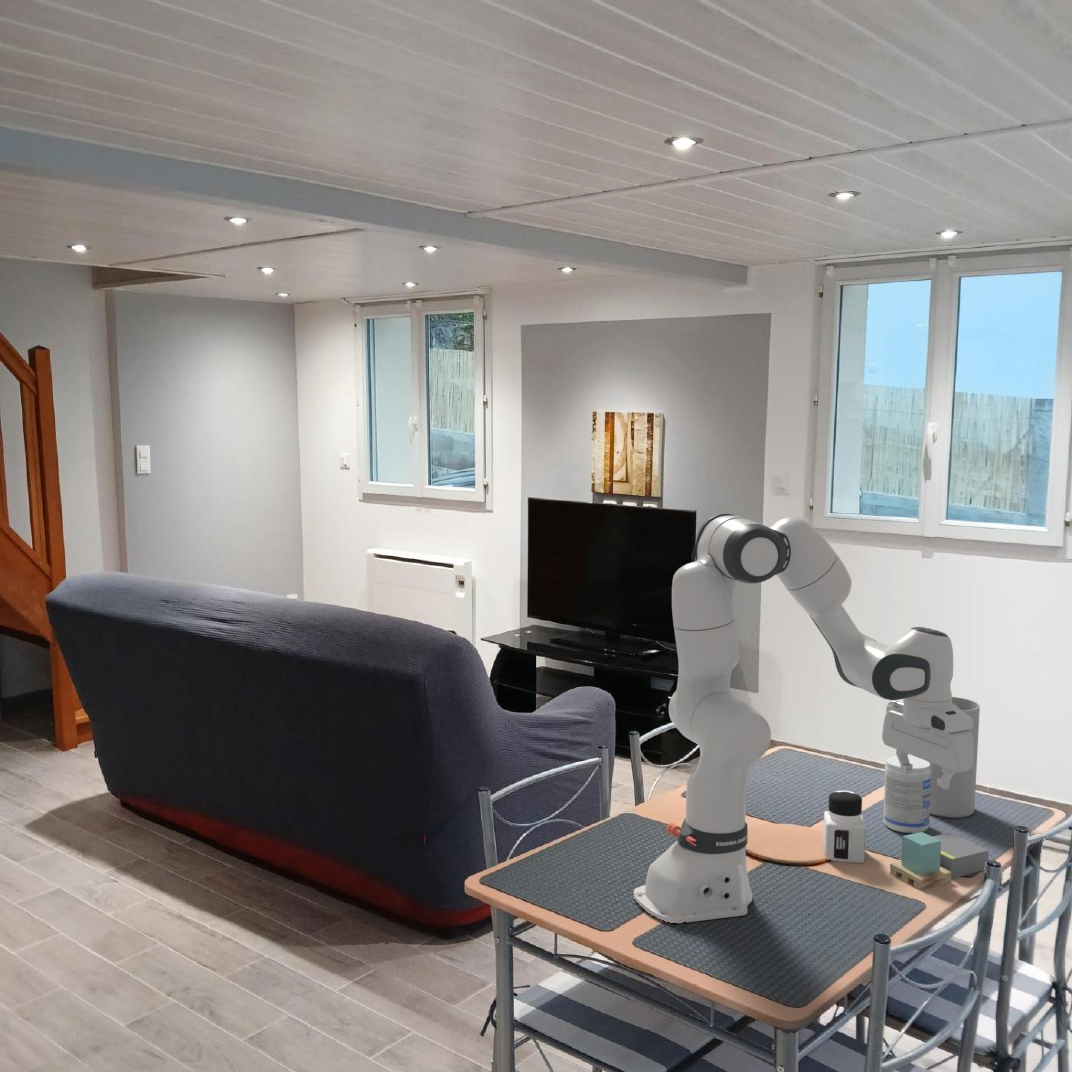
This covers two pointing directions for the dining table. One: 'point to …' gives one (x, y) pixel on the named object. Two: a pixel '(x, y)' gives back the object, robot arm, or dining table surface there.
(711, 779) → the robot arm
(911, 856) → the teal block
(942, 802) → the cylinder vase
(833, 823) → the container
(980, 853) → the block
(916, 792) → the supplement tub
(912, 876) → the pallet
